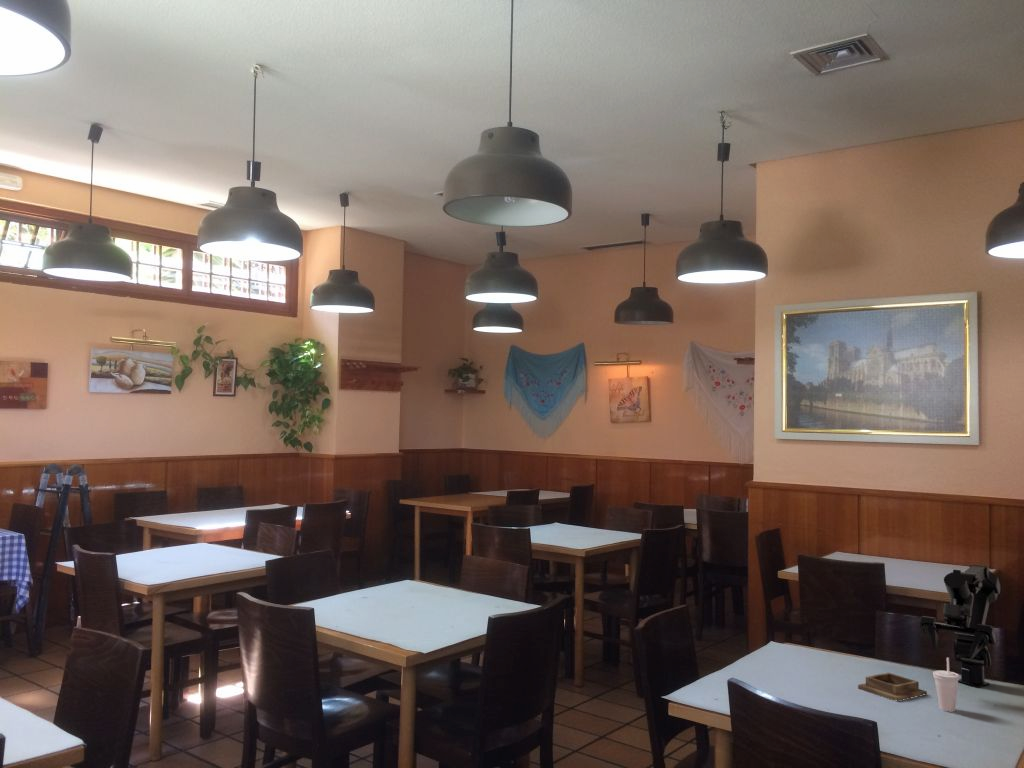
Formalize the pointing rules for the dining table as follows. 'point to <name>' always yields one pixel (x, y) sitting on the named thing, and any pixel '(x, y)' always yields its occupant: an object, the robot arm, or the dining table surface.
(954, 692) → the smoothie
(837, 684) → the dining table surface
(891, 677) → the bottle stand
